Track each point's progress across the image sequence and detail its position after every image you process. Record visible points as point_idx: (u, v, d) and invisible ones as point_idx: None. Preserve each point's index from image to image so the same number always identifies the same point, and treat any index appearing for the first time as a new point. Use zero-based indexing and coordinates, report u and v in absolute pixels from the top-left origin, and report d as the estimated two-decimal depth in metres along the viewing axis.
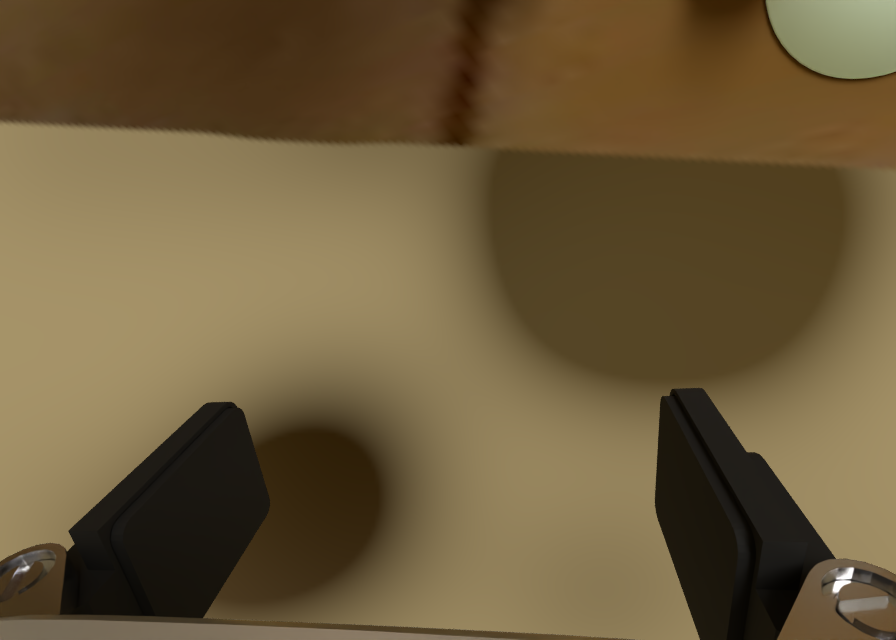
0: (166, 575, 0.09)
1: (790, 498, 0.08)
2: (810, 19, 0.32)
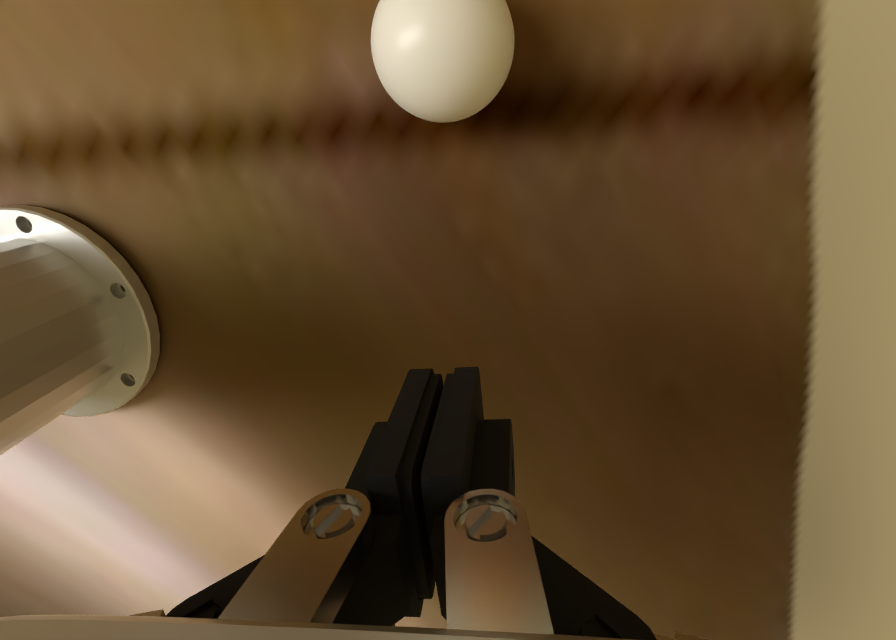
0: (425, 524, 0.09)
1: (508, 452, 0.10)
2: None
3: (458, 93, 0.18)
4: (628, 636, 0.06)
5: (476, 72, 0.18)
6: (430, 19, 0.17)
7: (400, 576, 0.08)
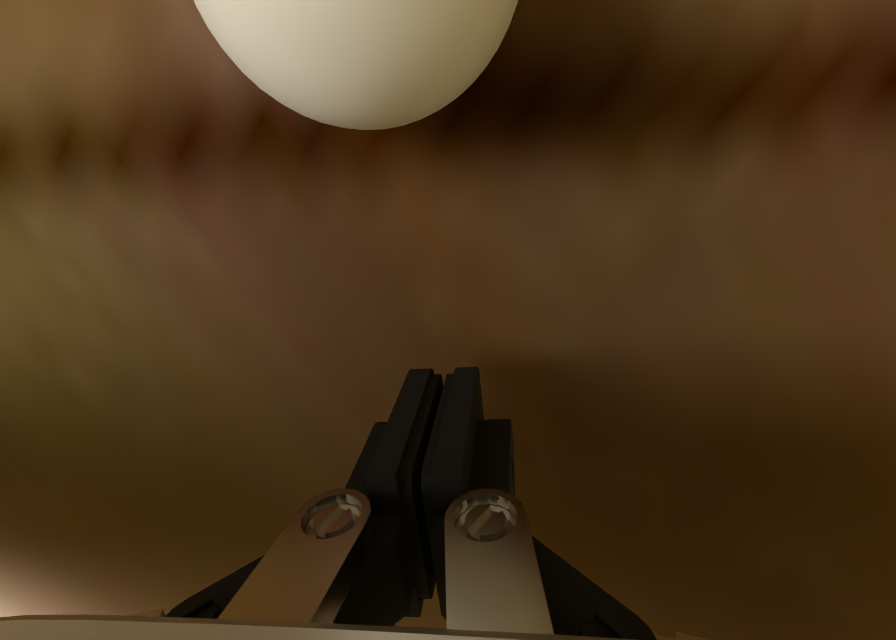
0: (425, 524, 0.09)
1: (508, 452, 0.10)
2: None
3: (384, 57, 0.07)
4: (628, 636, 0.06)
5: None
6: None
7: (400, 576, 0.08)
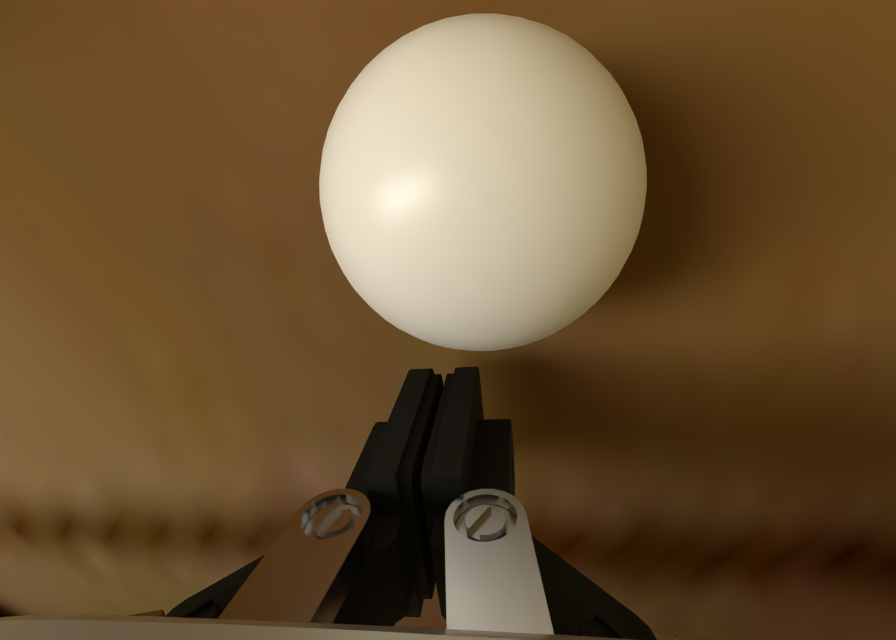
0: (425, 524, 0.09)
1: (508, 452, 0.10)
2: None
3: None
4: (628, 636, 0.06)
5: None
6: None
7: (400, 576, 0.08)
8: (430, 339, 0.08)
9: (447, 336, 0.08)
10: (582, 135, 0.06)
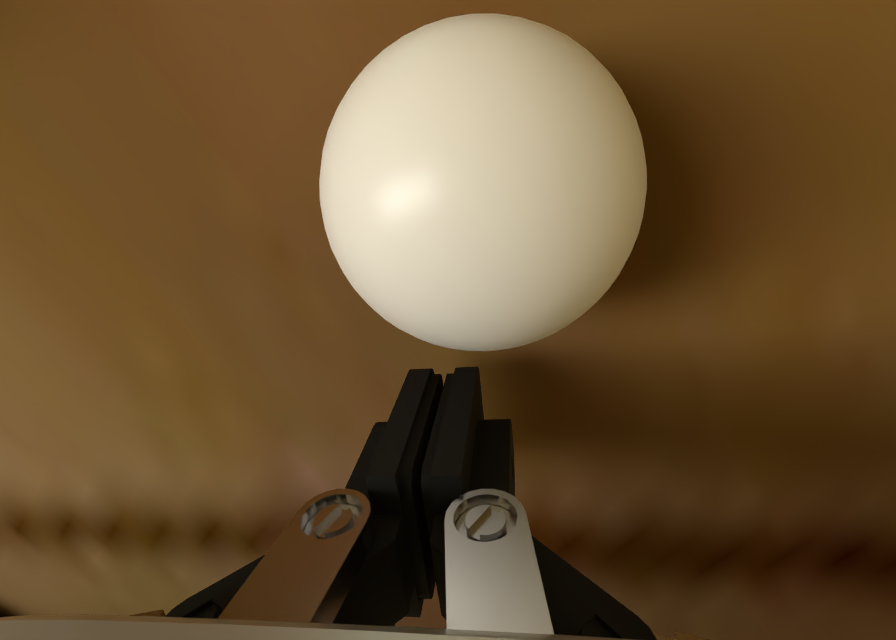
0: (425, 524, 0.09)
1: (508, 452, 0.10)
2: None
3: None
4: (628, 636, 0.06)
5: None
6: None
7: (400, 576, 0.08)
8: (430, 339, 0.08)
9: (447, 336, 0.08)
10: (582, 134, 0.06)
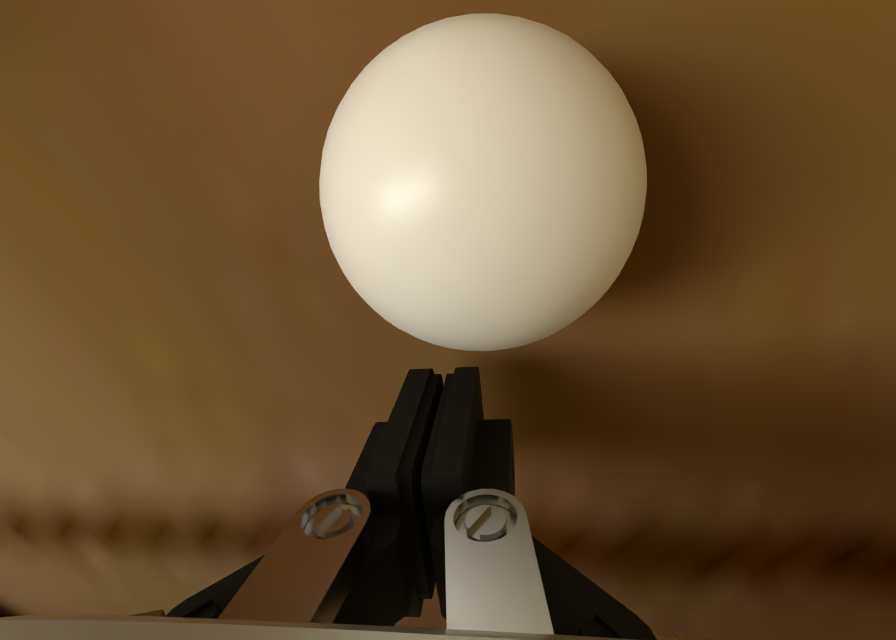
0: (425, 524, 0.09)
1: (508, 452, 0.10)
2: None
3: None
4: (628, 636, 0.06)
5: None
6: None
7: (400, 576, 0.08)
8: (430, 339, 0.08)
9: (447, 336, 0.08)
10: (582, 134, 0.06)
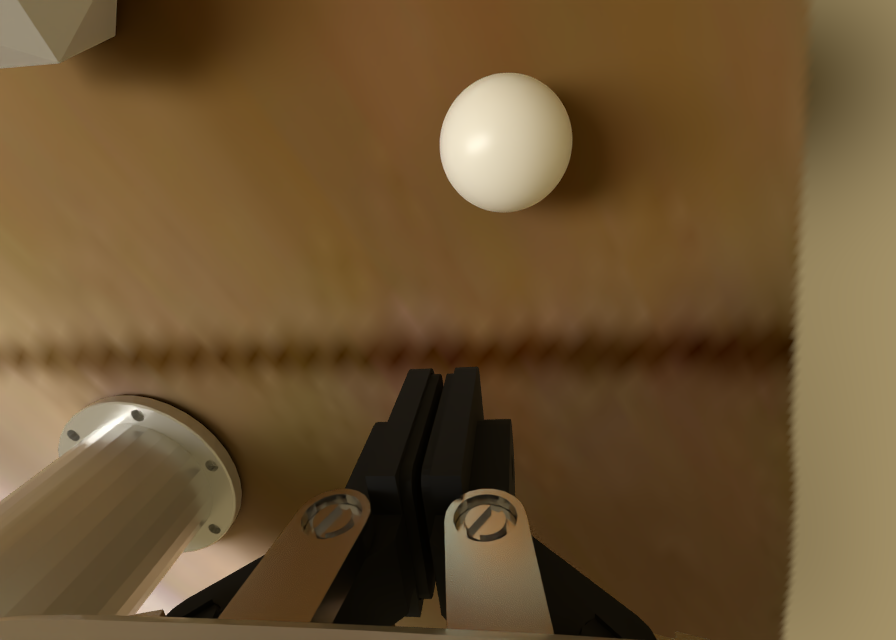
0: (425, 524, 0.09)
1: (507, 452, 0.10)
2: None
3: None
4: (628, 636, 0.06)
5: None
6: None
7: (400, 576, 0.08)
8: (485, 201, 0.20)
9: (493, 197, 0.20)
10: (543, 118, 0.18)
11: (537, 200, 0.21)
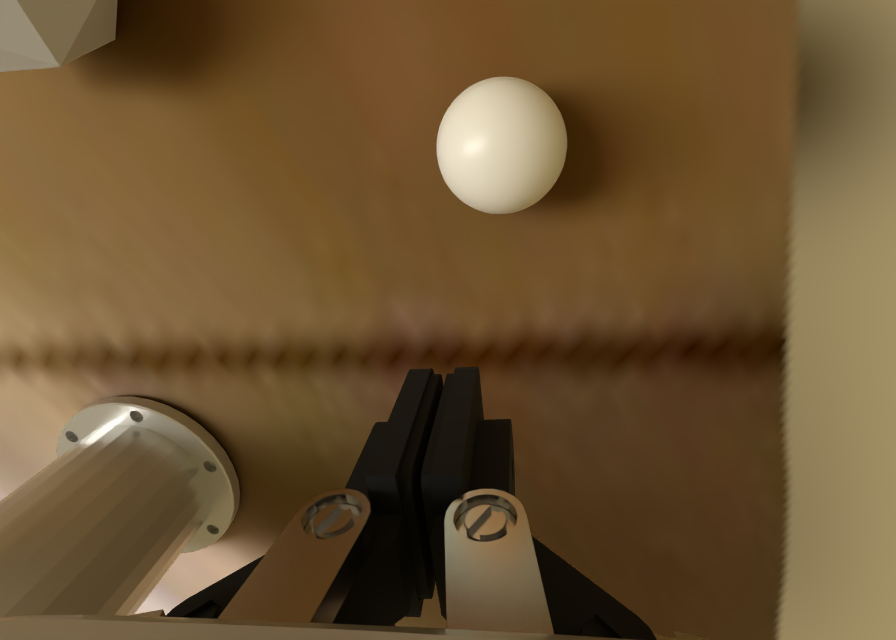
0: (425, 524, 0.09)
1: (508, 452, 0.10)
2: None
3: None
4: (628, 636, 0.06)
5: None
6: None
7: (400, 576, 0.08)
8: (482, 203, 0.21)
9: (489, 199, 0.20)
10: (538, 121, 0.19)
11: (533, 202, 0.21)
